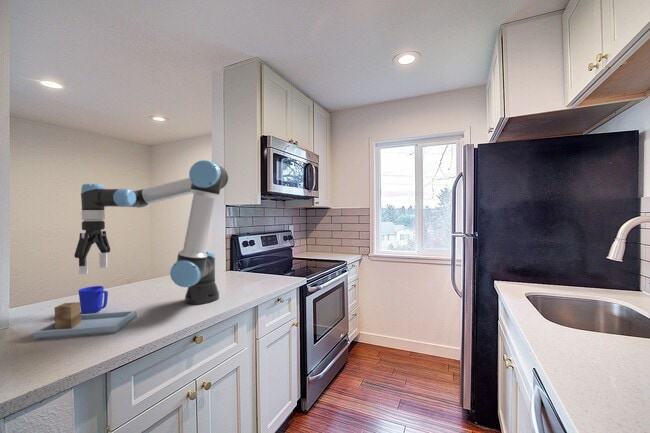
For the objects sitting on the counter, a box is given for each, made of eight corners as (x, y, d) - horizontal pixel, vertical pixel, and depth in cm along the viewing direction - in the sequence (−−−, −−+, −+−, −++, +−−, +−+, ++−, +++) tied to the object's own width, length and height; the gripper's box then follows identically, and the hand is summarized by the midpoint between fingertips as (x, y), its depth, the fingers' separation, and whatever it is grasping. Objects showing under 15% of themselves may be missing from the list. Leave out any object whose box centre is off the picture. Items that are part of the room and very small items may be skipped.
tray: (136, 316, 113) (136, 310, 113) (115, 333, 97) (115, 326, 97) (67, 321, 108) (67, 315, 108) (33, 340, 92) (33, 332, 92)
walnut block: (80, 323, 104) (80, 302, 104) (71, 328, 99) (70, 306, 99) (65, 324, 103) (64, 303, 103) (55, 330, 98) (54, 307, 98)
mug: (97, 316, 113) (96, 291, 113) (73, 314, 116) (73, 290, 116) (116, 309, 121) (115, 286, 121) (93, 307, 124) (93, 285, 124)
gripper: (100, 219, 129) (101, 265, 130) (61, 221, 105) (62, 277, 105) (118, 219, 131) (119, 264, 131) (84, 221, 106) (85, 276, 107)
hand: (94, 270), depth 118 cm, fingers open, 13 cm apart
